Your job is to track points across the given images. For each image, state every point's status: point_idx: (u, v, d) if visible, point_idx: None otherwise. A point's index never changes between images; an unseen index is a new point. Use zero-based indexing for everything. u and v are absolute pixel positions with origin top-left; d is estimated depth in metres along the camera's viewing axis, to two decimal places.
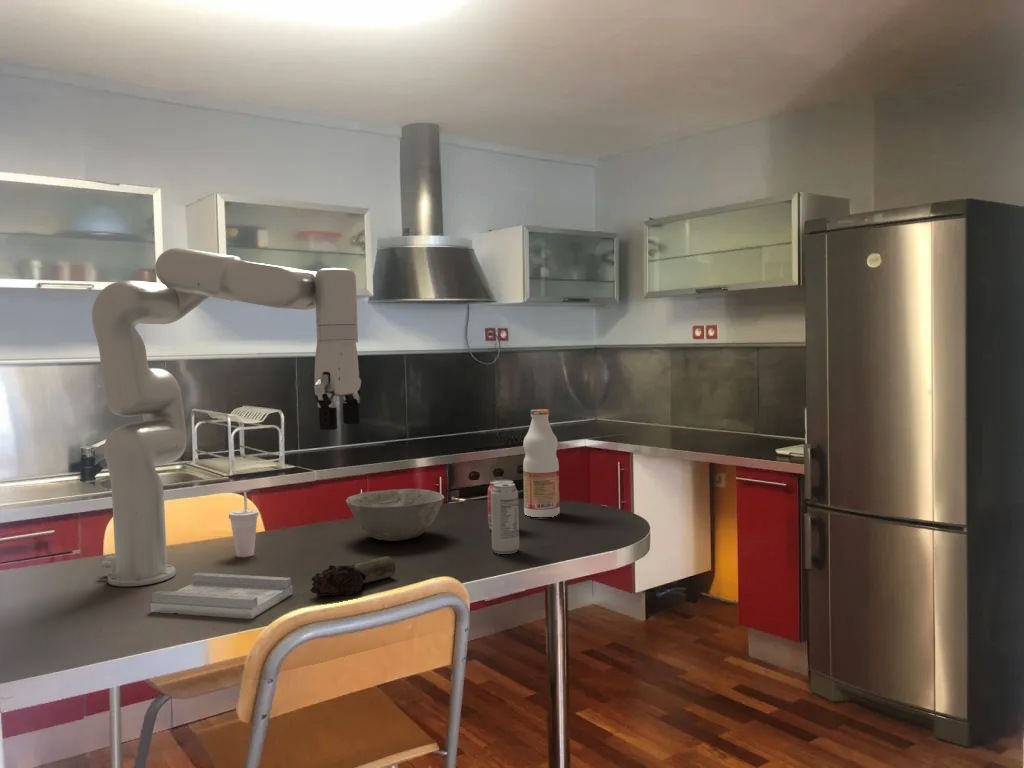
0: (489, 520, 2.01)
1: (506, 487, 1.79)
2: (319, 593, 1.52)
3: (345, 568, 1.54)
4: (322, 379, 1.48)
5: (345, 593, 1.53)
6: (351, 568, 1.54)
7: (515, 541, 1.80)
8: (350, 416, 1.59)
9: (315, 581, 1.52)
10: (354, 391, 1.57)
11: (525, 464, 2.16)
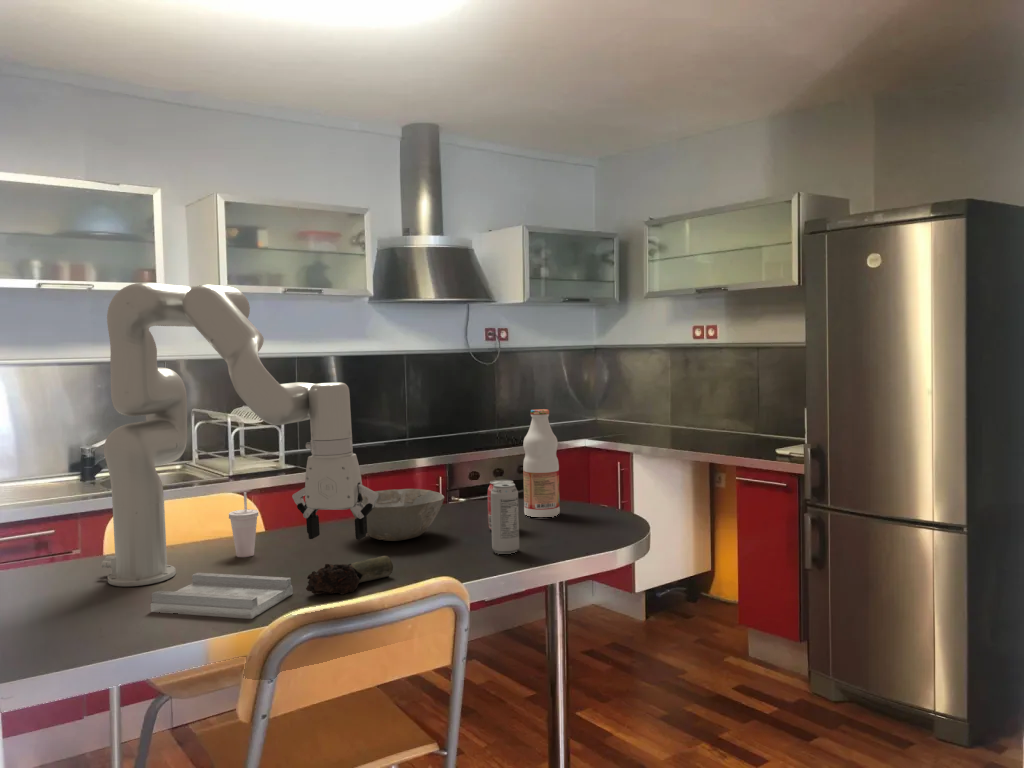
0: (489, 520, 2.01)
1: (506, 487, 1.79)
2: (314, 591, 1.53)
3: (340, 567, 1.55)
4: (368, 489, 1.55)
5: (340, 592, 1.54)
6: (346, 567, 1.55)
7: (515, 541, 1.80)
8: (315, 529, 1.58)
9: (310, 579, 1.53)
10: None
11: (525, 464, 2.16)
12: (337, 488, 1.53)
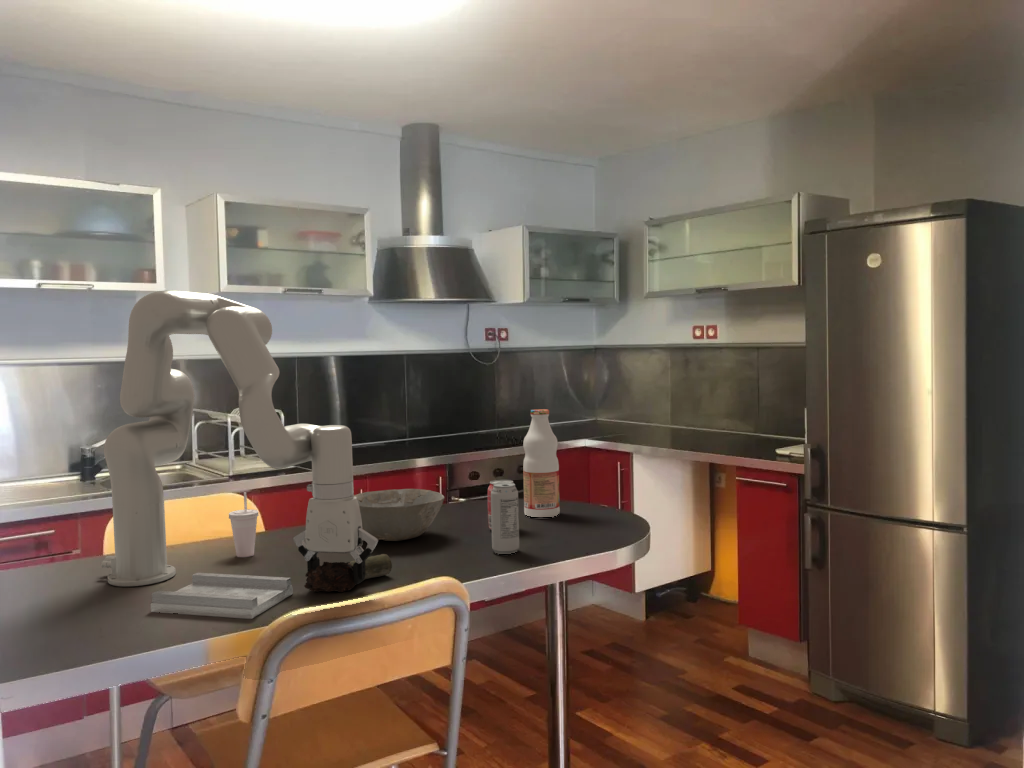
0: (489, 520, 2.01)
1: (506, 487, 1.79)
2: (312, 589, 1.54)
3: (338, 565, 1.55)
4: (368, 534, 1.55)
5: (338, 589, 1.55)
6: (344, 565, 1.55)
7: (515, 541, 1.80)
8: None
9: (308, 577, 1.54)
10: None
11: (525, 464, 2.16)
12: (337, 532, 1.54)
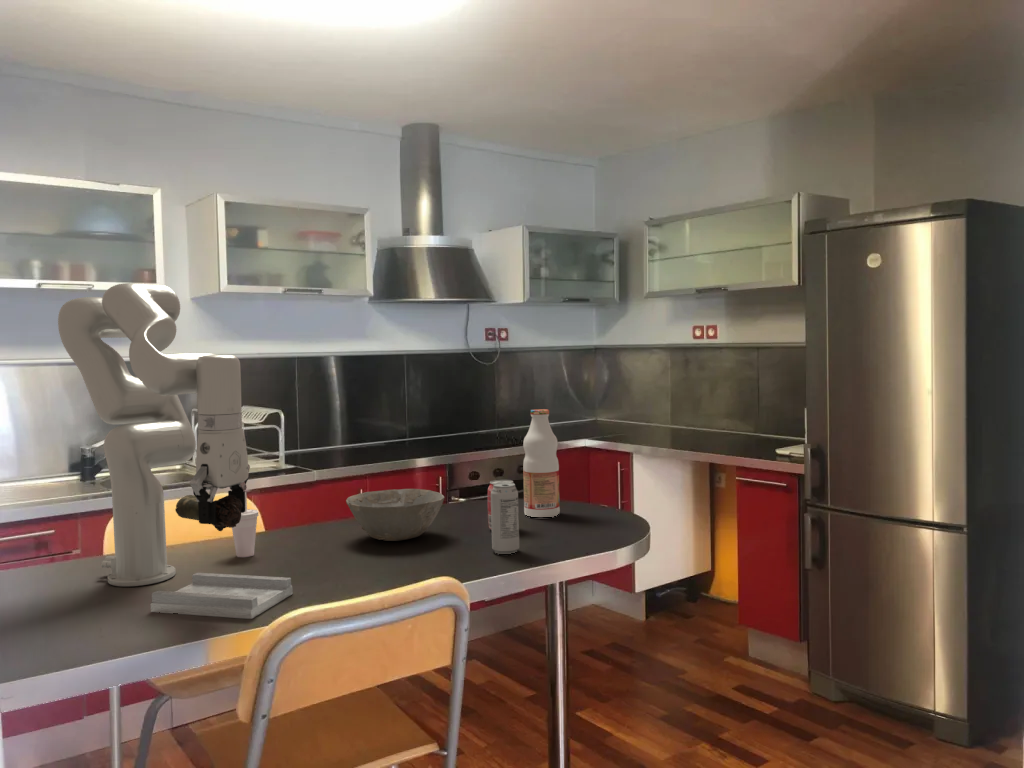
0: (489, 520, 2.01)
1: (506, 487, 1.79)
2: None
3: (233, 497, 1.51)
4: None
5: None
6: (235, 496, 1.52)
7: (515, 540, 1.80)
8: None
9: (232, 513, 1.46)
10: None
11: (525, 464, 2.16)
12: (241, 461, 1.51)
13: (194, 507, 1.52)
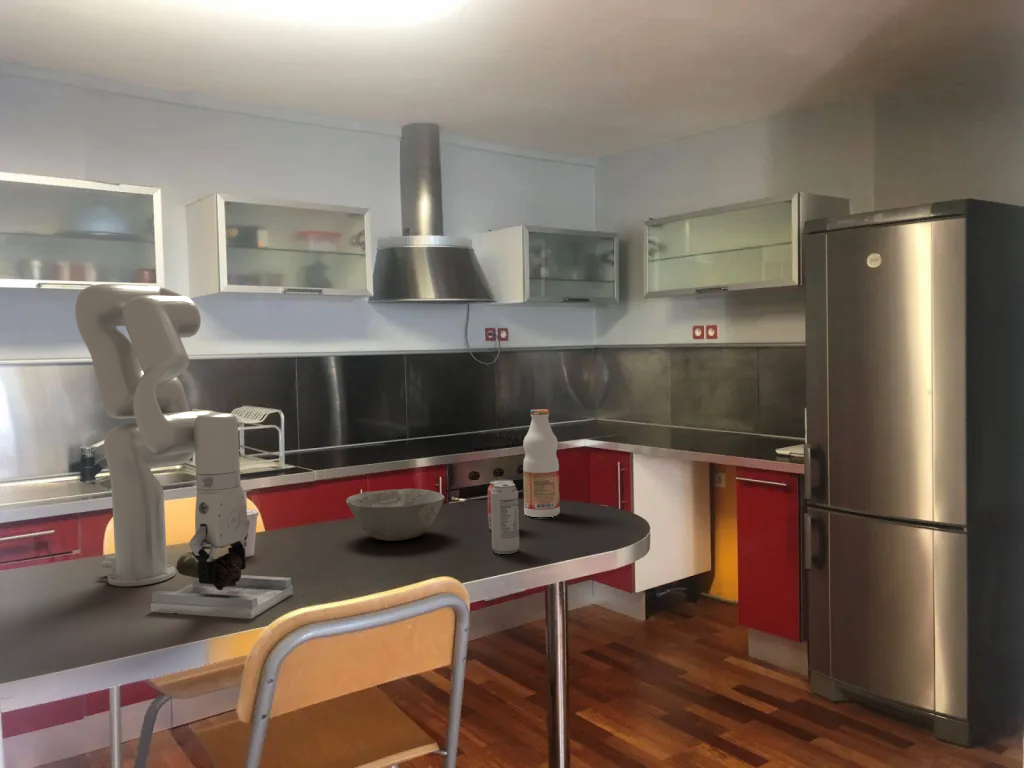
0: (489, 520, 2.01)
1: (506, 487, 1.79)
2: None
3: (233, 555, 1.51)
4: None
5: None
6: None
7: (515, 541, 1.80)
8: None
9: (232, 572, 1.46)
10: None
11: (525, 464, 2.16)
12: (240, 518, 1.51)
13: (194, 566, 1.52)
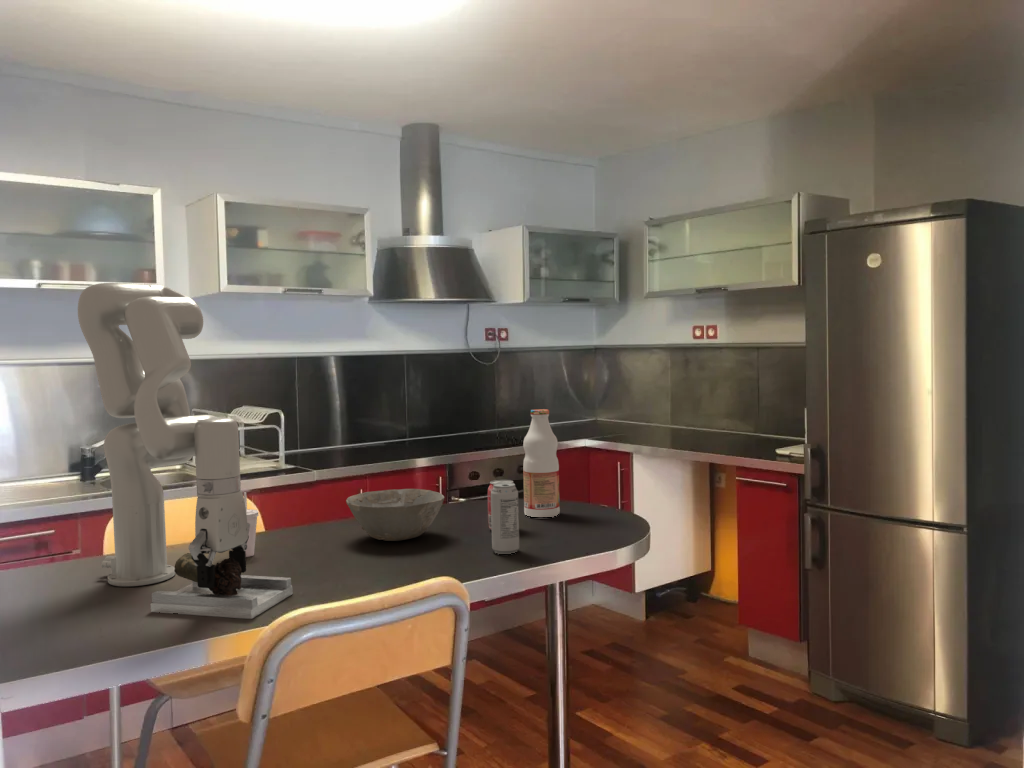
0: (489, 520, 2.01)
1: (506, 487, 1.79)
2: None
3: (231, 561, 1.51)
4: None
5: None
6: (232, 558, 1.52)
7: (515, 541, 1.80)
8: None
9: (232, 582, 1.46)
10: None
11: (525, 464, 2.16)
12: (240, 523, 1.51)
13: (193, 573, 1.51)
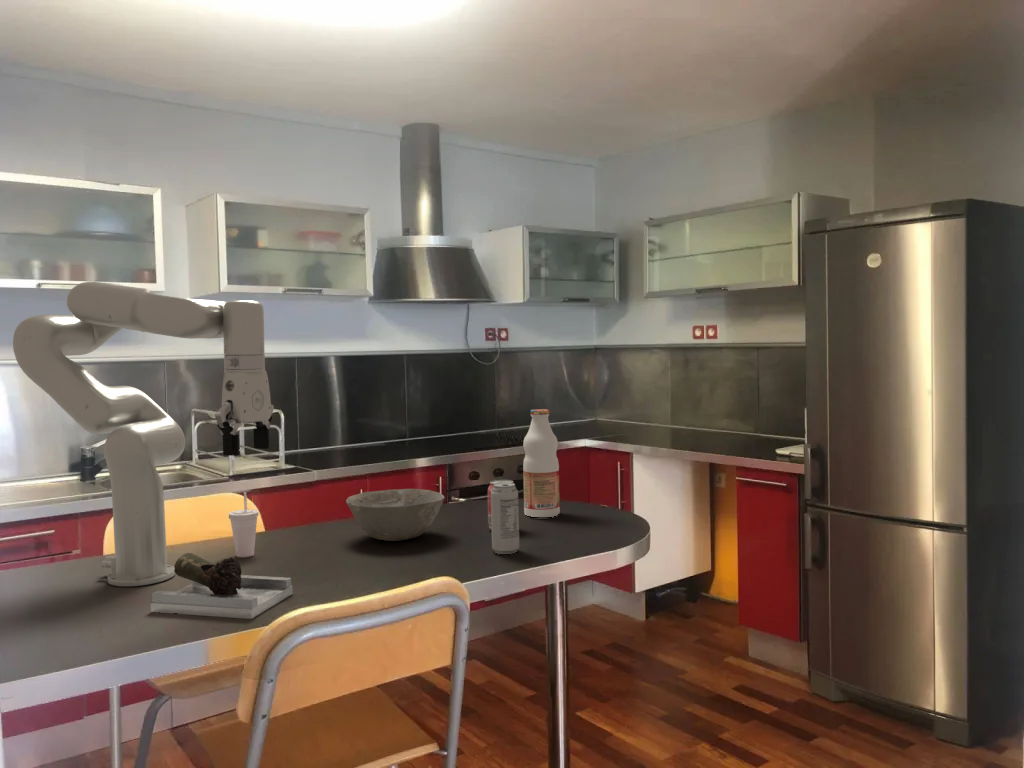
0: (489, 520, 2.01)
1: (506, 487, 1.79)
2: None
3: (231, 561, 1.51)
4: None
5: None
6: (232, 558, 1.52)
7: (515, 540, 1.80)
8: None
9: (232, 582, 1.46)
10: None
11: (525, 464, 2.16)
12: (263, 400, 1.62)
13: (193, 573, 1.51)
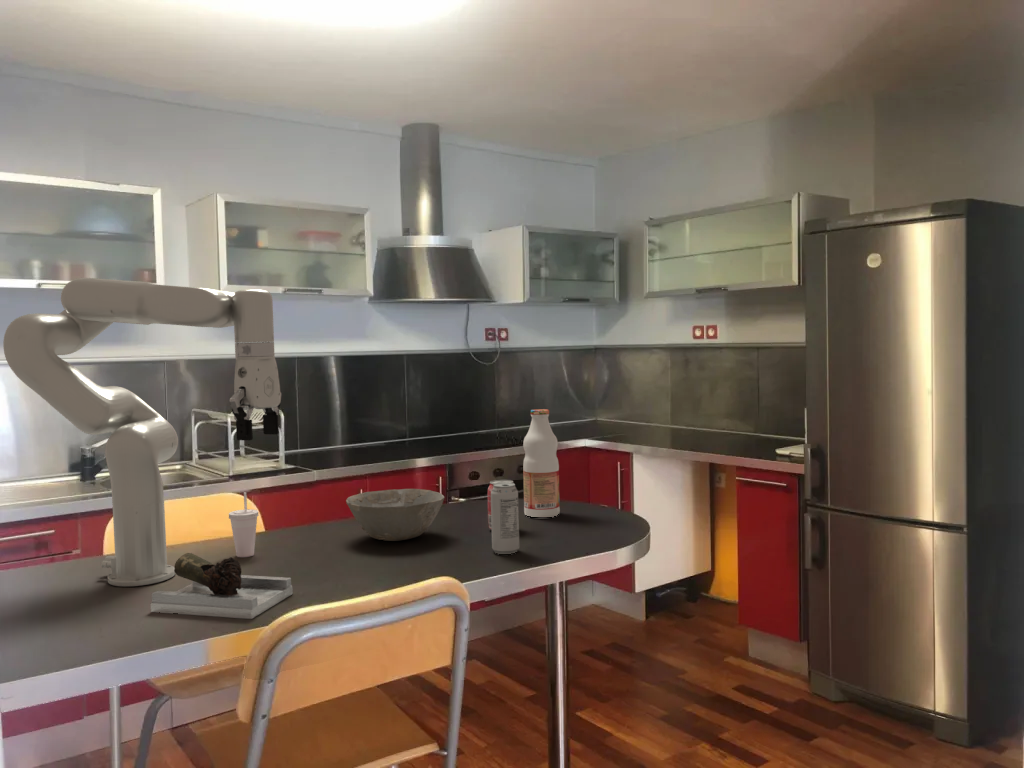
0: (489, 520, 2.01)
1: (506, 487, 1.79)
2: None
3: (231, 561, 1.51)
4: None
5: None
6: (232, 558, 1.52)
7: (515, 541, 1.80)
8: None
9: (232, 582, 1.46)
10: None
11: (525, 464, 2.16)
12: (274, 387, 1.67)
13: (193, 573, 1.51)
